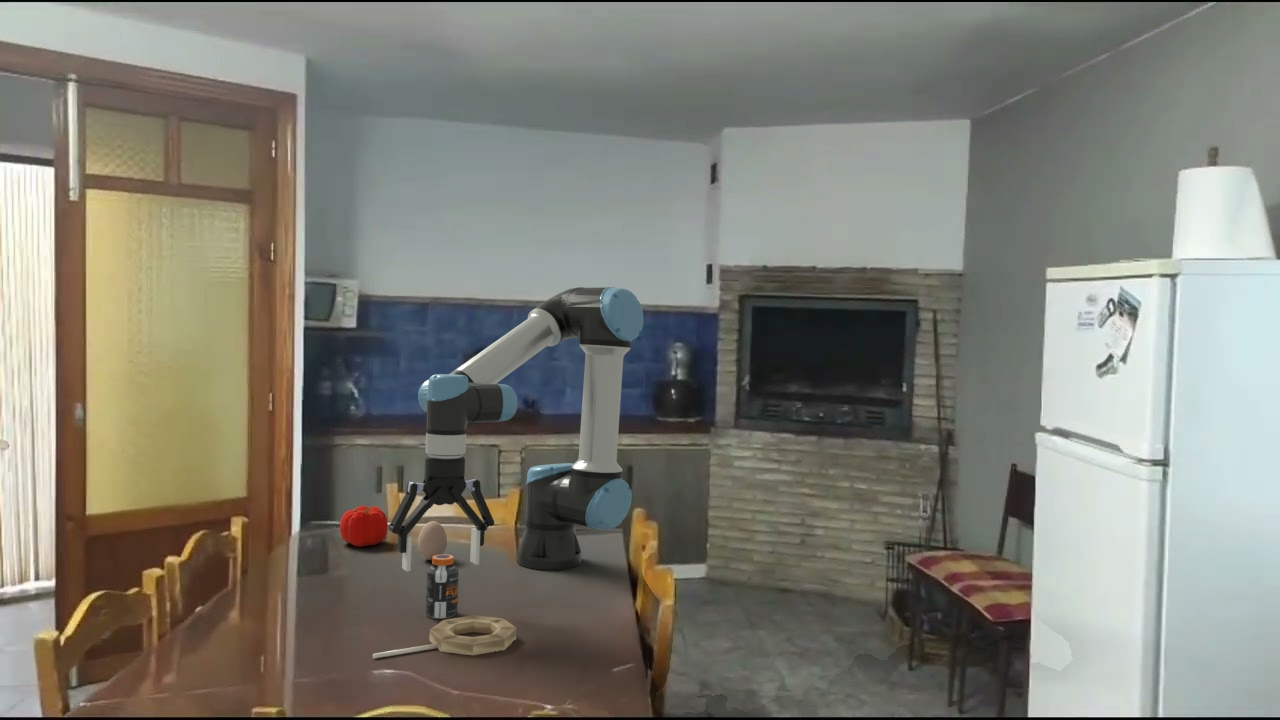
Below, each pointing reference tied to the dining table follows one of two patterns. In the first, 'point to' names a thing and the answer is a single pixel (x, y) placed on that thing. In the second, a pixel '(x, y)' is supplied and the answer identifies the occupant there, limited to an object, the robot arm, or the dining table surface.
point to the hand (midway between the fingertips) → (441, 566)
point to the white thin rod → (405, 651)
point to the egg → (432, 540)
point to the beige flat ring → (452, 643)
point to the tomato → (364, 526)
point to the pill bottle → (442, 588)
